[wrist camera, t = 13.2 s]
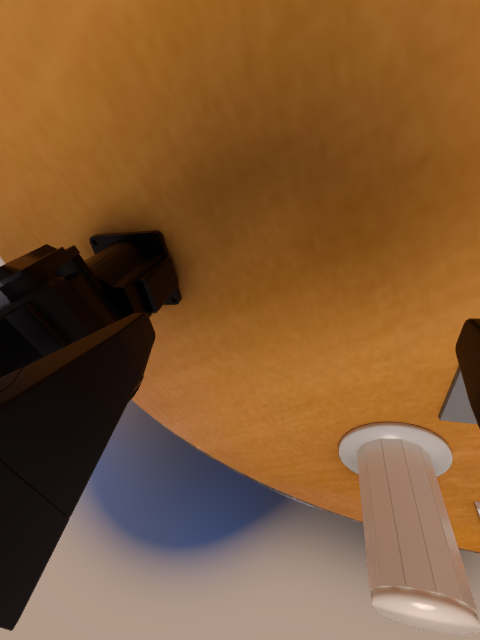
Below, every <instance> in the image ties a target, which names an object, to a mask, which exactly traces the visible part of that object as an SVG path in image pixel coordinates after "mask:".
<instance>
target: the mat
mask: <svg viewBox="0 0 480 640" xmlns="http://www.w3.org/2000/svg"><path fill="white" fill-rule="evenodd" d="M439 419H440V420H442V421H452V422H462V423H472V424H478V423H477V421H476V419H475V416H474V414H473V411H472V408H471V406H470V402H469V399H468V396H467V392H466V388H465V385H464V381H463V377H462V374H461V370H460V366H459V369H458V371H457V373H456V376H455V378H454V381H453V383H452V385H451V388H450V390H449V393H448V395H447V397H446V400H445V402H444V405H443V407H442V409H441V412H440V414H439Z"/></svg>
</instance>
